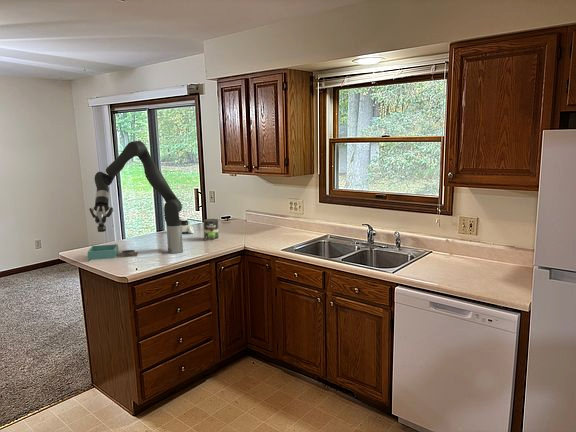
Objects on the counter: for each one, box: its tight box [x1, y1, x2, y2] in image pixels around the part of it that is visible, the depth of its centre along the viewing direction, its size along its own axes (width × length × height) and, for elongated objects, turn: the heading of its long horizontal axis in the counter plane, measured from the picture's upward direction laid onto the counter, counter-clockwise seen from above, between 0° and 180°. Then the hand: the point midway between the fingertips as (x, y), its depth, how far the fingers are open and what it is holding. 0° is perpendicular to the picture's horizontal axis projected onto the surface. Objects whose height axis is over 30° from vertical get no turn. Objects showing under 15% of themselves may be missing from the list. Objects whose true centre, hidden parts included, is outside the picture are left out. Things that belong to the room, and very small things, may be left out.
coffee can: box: [203, 218, 220, 242], centre depth 304 cm, size 10×10×14 cm
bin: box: [87, 243, 120, 262], centre depth 260 cm, size 15×15×6 cm
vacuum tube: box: [96, 211, 107, 233], centre depth 256 cm, size 5×5×12 cm
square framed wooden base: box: [116, 249, 139, 259], centre depth 261 cm, size 11×11×3 cm
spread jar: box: [179, 216, 195, 235], centre depth 326 cm, size 12×11×12 cm
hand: (100, 222), depth 254 cm, fingers closed on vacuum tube, 3 cm apart
